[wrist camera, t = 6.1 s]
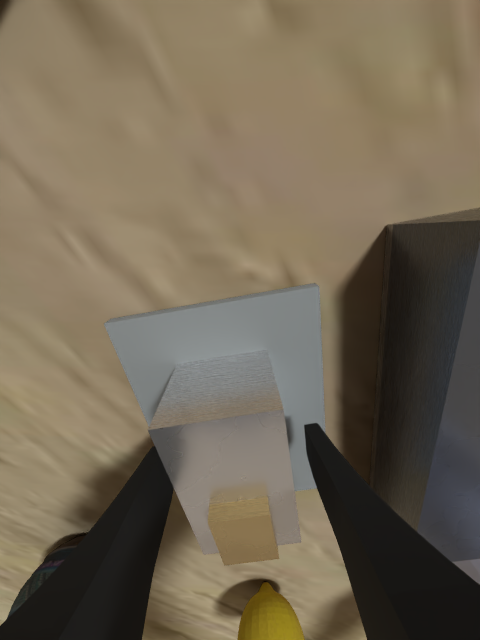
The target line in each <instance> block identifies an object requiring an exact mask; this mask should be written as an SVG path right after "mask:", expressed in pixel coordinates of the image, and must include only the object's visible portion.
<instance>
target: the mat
mask: <svg viewBox="0 0 480 640" xmlns="http://www.w3.org/2000/svg"><path fill="white" fill-rule="evenodd" d="M104 325H105V328H106V330H107V332H108V334H109V337H110V339H111V341H112V343H113V346H114V348H115V350H116V353H117V355H118V357H119V359H120V362H121V364H122V366H123V369H124V371H125V373H126V375H127V378H128V380H129V382H130V384H131V387H132V389H133V391H134V394H135V396H136V398H137V400H138V403H139V405H140V407H141V410H142V412H143V414H144V416H145V419H146V421H147V423H148V425H149V426H150V424H151V421H152V419H153V417H154V415H155V412H156V410H157V408H158V406H159V403H160V401H161V399H162V397H163V394H164V392H165V390H166V388H167V385H168V383H169V381H170V379H171V376H172V374H173V372H174V369H175V367H176V365H177V364H180V363H186V362H192V361H198V360H204V359H210V358H216V357H222V356H228V355H235V354H241V353H247V352H253V351H259V350H265V349H267V350H268V354H269V358H270V361H271V365H272V369H273V372H274V376H275V380H276V383H277V387H278V391H279V394H280V398H281V402H282V405H283V409H284V416H285V423H286V431H287V438H288V446H289V453H290V461H291V468H292V476H293V483H294V491H300V490H307V489H315V488H317V486H316V484H315V481H314V478H313V475H312V471H311V468H310V464H309V461H308V457H307V453H306V442H305V430H304V425H305V424H312V423H318V424H319V425H320V427H321V428H322V430H323V431H324V432H325V412H324V388H323V365H322V341H321V317H320V293H319V286H318V285H317V284H315V283H313V284H308V285H302V286H296V287H290V288H285V289H279V290H273V291H268V292H262V293H256V294H250V295H245V296H239V297H233V298H228V299H222V300H216V301H210V302H205V303H199V304H193V305H188V306H182V307H176V308H170V309H165V310H159V311H153V312H148V313H142V314H136V315H130V316H125V317H119V318H113V319H110V320H108V321H107V322H106V323H104Z"/></svg>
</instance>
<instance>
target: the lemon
mask: <svg viewBox="0 0 480 640" xmlns="http://www.w3.org/2000/svg"><path fill="white" fill-rule="evenodd" d="M238 640H305V639H304V635H303V632H302V628H301V626H300V623H299V620H298V618H297V616H296V614H295V612H294V610H293V608H292V607H291V605H290V603H289V602H288V601H287V600H286V599H285V598H284V597H283V596H282V595H281V594H279V593H277V592H275V591H274V589H273V588H272V587H271V585H270V584H269V583H268V582H264V583H263V584H262V585H261V587H260V589H259V591H258V593H257V594H255V595H254V596H253V597H252V598H251V599H250V600H249V602H248V603H247V605H246V607H245V609H244V611H243V614H242V617H241V621H240V625H239V632H238Z"/></svg>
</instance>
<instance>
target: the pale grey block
mask: <svg viewBox="0 0 480 640" xmlns="http://www.w3.org/2000/svg"><path fill="white" fill-rule="evenodd" d="M148 432H149V434H150V436H151V438H152V441H153V443H154V445H155V447H156V449H157V452H158V454H159V456H160V458H161V461H162V463H163V465H164V467H165V470H166V472H167V474H168V476H169V478H170V481H171V483H172V485H173V487H174V490H175V492H176V494H177V496H178V498H179V501H180V503H181V505H182V507H183V510H184V512H185V514H186V516H187V519H188V521H189V523H190V525H191V527H192V530H193V532H194V534H195V536H196V539H197V541H198V543H199V545H200V547H201V550H202V552H203V554H212V553H220V556H221V558H222V561H223V563H224V565H232V564H240V563H248V562H257V561H265V560H273V559H279V554H278V547H277V545H285V544H293V543H301V536H300V528H299V521H298V513H297V506H296V498H295V491H294V483H293V476H292V468H291V461H290V453H289V446H288V438H287V431H286V423H285V416H284V409H283V405H282V402H281V398H280V394H279V391H278V387H277V383H276V380H275V376H274V372H273V369H272V365H271V361H270V358H269V354H268V350H267V349H265V350H259V351H253V352H247V353H241V354H235V355H228V356H222V357H216V358H210V359H204V360H198V361H192V362H186V363H180V364H177V365H176V367H175V369H174V372H173V374H172V376H171V379H170V381H169V383H168V385H167V388H166V390H165V392H164V394H163V397H162V399H161V401H160V403H159V406H158V408H157V410H156V412H155V415H154V417H153V419H152V421H151V424H150V426H149V428H148Z"/></svg>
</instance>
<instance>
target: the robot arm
mask: <svg viewBox="0 0 480 640" xmlns="http://www.w3.org/2000/svg"><path fill="white" fill-rule="evenodd" d="M304 430H305V442H306V453H307V457H308V461H309V464H310V468H311V471H312V475H313V478H314V481H315V484H316V486H317V489H318V492H319V494H320V497H321V500H322V502H323V505H324V507H325V510H326V513H327V515H328V518H329V521H330V523H331V526H332V528H333V531H334V534H335V536H336V539H337V542H338V545H339V548H340V551H341V554H342V557H343V560H344V563H345V567H346V570H347V573H348V576H349V580H350V583H351V586H352V590H353V593H354V596H355V600H356V603H357V606H358V610H359V613H360V616H361V620H362V623H363V626H364V630H365V633H366V637H367V640H480V559H473V560H464V561H456V562H451V561H450V560H449V559H448V558H447V557H445V556H444V555H443V554H442V553H441V552H440V551H439V550H437V549H436V548H435V547H434V546H433V545H432V544H431V543H429V542H428V541H427V540H426V539H425V538H424V537H422V536H421V535H420V534H419V533H418V532H417V531H416V530H414V529H413V528H412V527H411V526H410V525H409V524H408V523H407V522H406V521H405V520H404V519H402V518H401V517H400V516H399V515H398V514H397V513H396V512H395V511H394V510H393V509H392V508H391V507H390V506H389V505H388V504H387V503H386V502H385V501H384V500H383V499H382V498H381V497H380V496H379V495H378V494H377V493H376V492H375V491H374V490H373V489H372V488H371V487H370V486H369V485H368V484H367V483H366V482H365V481H364V480H363V478H362V477H361V476H360V475H359V474H358V473H357V472H356V471H355V470H354V468H353V467H352V466H351V465H350V464H349V463H348V461H347V460H346V459H345V458H344V457H343V456H342V454H341V453H340V452H339V451H338V449H337V448H336V447H335V446H334V444H333V443H332V442H331V441H330V439H329V438H328V437H327V435H326V434H325V432H324V431H323V430H322V428H321V427H320V425H319V424H318V423H312V424H305V425H304ZM173 488H174V487H173V485H172V483H171V481H170V478H169V476H168V474H167V472H166V470H165V467H164V465H163V463H162V461H161V458H160V456H159V454H158V452H157V449H156V447H152V448H151V449H150V451H149V452H148V453H147V455H146V456H145V458H144V459H143V461H142V462H141V463H140V465H139V466H138V468H137V469H136V471H135V472H134V473H133V475H132V476H131V478H130V479H129V480H128V482H127V483H126V484H125V486H124V487H123V489H122V490H121V491H120V493H119V494H118V495H117V497H116V498H115V499H114V501H113V502H112V503H111V505H110V506H109V507H108V509H107V510H106V511H105V512H104V514H103V515H102V516H101V518H100V519H99V520H98V521H97V523H96V524H95V525H94V526H93V528H92V529H91V530H90V531H89V532H88V534H87V535H86V536H85V537H84V538H83V540H82V541H81V542H80V543H79V544H78V545H77V547H76V548H75V549H74V550H73V551H72V552H71V553H70V555H69V556H68V557H67V558H66V559H65V560H64V561H63V562H62V563H61V564H60V565H59V566H58V568H57V569H56V570H55V571H54V572H53V573H52V574H51V575H50V576H49V577H48V578H47V579H46V580H45V581H44V583H43V584H42V585H41V586H40V587H39V588H38V589H37V590H36V591H35V592H34V593H33V594H32V595H31V596H30V597H29V598H28V599H27V600H26V601H25V602H24V603H23V604H22V605H21V606H20V607H19V608H18V609H17V610H16V611H15V612H14V613H13V614H12V615H11V616H10V617H9V618H8V619H7V620H6V621H5V622H4V623H3V624H2V625H1V626H0V640H142V635H143V628H144V622H145V616H146V610H147V604H148V599H149V593H150V588H151V582H152V577H153V572H154V567H155V563H156V559H157V555H158V551H159V547H160V543H161V539H162V535H163V531H164V527H165V523H166V519H167V515H168V511H169V507H170V503H171V499H172V494H173Z"/></svg>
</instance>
